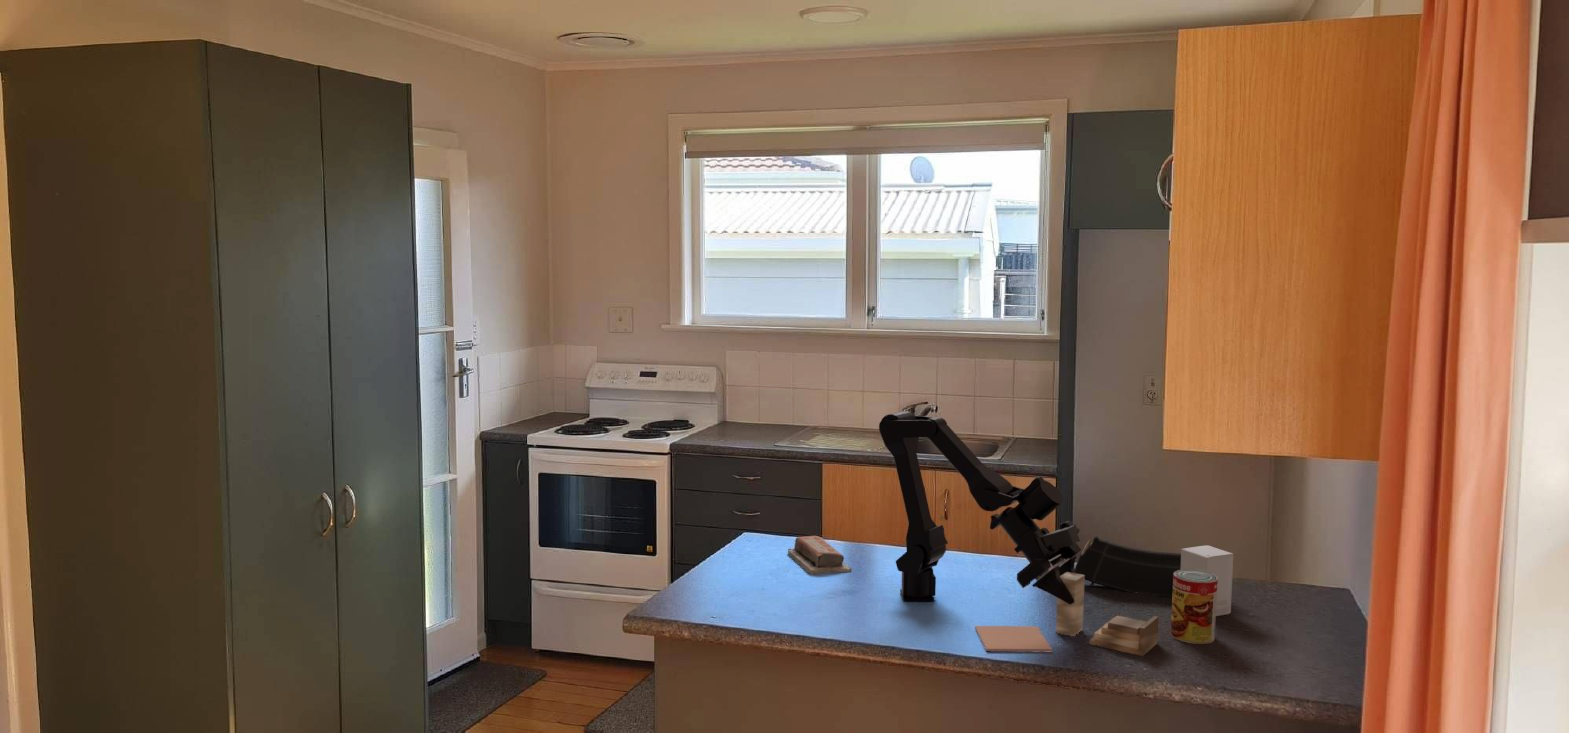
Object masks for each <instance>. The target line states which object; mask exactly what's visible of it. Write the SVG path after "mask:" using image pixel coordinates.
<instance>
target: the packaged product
mask: <svg viewBox="0 0 1569 733" xmlns="http://www.w3.org/2000/svg"><path fill="white" fill-rule="evenodd" d="M787 554H788V556H790V557H791V558H792V559H793V560H794V561H795V562H796V563H797V564H798V565H799V566H800V567H801V568H802V570H804V571H806V572H807V573H808V574H809V575H811V576H813V575H825V574H837V573H848V572H849V573H851V572H852V569H853V568H852V567H851V566H849V565H848V564H847V563H845V561H844V560H845V557H844V555H842V553H841V552H839V550H837V549H835V548H834V546H832V545H831V544H830V543H828V542H827V541H826V540H825V539H824V538H823V537H821V536H817V535H805V536H798V537H795V540H794V548H787Z"/></svg>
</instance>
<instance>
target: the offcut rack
mask: <svg viewBox="0 0 1569 733" xmlns="http://www.w3.org/2000/svg"><path fill="white" fill-rule="evenodd" d="M1158 630H1159V616H1156V615H1153V616H1152V617H1151V618H1150V619H1148V620H1147V621H1145V620H1140V619H1136V618H1130V617H1127V616H1126V617H1125V616H1122V615H1116V616H1114V617H1113V618H1111V619H1110V620H1108V621H1107V622H1105V624H1104V625H1102V626H1101V627H1099V629H1097V631H1095V632H1094V633H1093V637H1091V638H1090V639H1089V645H1092V646H1096V645H1097V647H1101V648H1104V649H1105V648H1106V649H1110V650H1115V651H1119V652H1122V653H1127V654H1131V655H1136V656H1139V657H1144V656H1145V655H1146V654H1147V653H1149V651H1150V650H1152V649H1153V648H1154V647H1155V646H1156V645H1157V644H1158V632H1159V631H1158Z"/></svg>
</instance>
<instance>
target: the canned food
mask: <svg viewBox="0 0 1569 733" xmlns="http://www.w3.org/2000/svg"><path fill="white" fill-rule="evenodd" d="M1217 584H1218V578H1217V576H1216V575H1214V574H1212V573H1209V572H1205V571H1200V570H1189V569H1185V570H1178V571H1175V572H1174V576H1173V596H1172V597H1171V598H1172V600H1171V616H1170V617H1171V618H1170V619H1171V620H1170V635H1171V637H1172V638H1173V639H1176V640H1177V641H1179V642H1185V643H1189V644H1198V645H1203V644H1211V643H1213V642H1215V636H1216V634H1215V633H1216V620H1217V619H1216V617H1217V616H1216V602H1217Z"/></svg>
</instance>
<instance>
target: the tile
mask: <svg viewBox="0 0 1569 733" xmlns="http://www.w3.org/2000/svg"><path fill="white" fill-rule="evenodd" d="M975 629H976V630H975ZM974 630H975V632H976V631H977V632H976V633H978V634H979V636H978V638H979V637H980V638H979V640H980V639H981V640H980V642H981V641H982V642H981V644H982V643H983V644H982V646H983V645H984V646H983V647H985V648H984V650H985V649H986V650H985V651H1052V652H1053V648H1052V647H1051V645H1050V644H1049V642H1048V641H1047V639H1046V638H1045V636H1044V634H1043V633H1042V632H1041V630H1040V629H1039V626H1037V625H1036V626H1031V625H1028V626H1025V625H1022V626H1021V625H1019V626H1017V625H1015V626H1014V625H975V626H974ZM978 634H977V635H978Z"/></svg>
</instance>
